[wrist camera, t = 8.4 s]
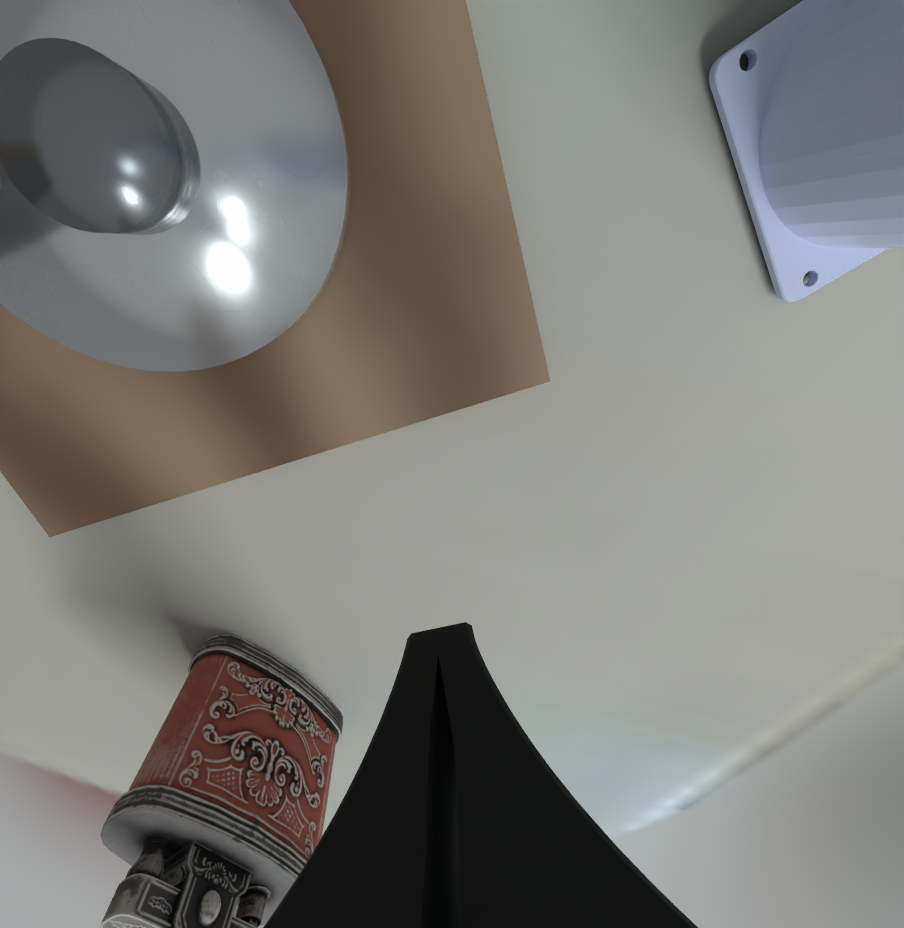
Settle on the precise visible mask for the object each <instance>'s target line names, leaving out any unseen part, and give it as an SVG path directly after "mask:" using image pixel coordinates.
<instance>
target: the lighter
mask: <svg viewBox="0 0 904 928" xmlns="http://www.w3.org/2000/svg"><path fill="white" fill-rule="evenodd" d="M188 672H189V676H188V677H187V679H186V681H185V683H184V685H183V687H182V689H181V691H180V693H179V695H178V697H177V699H176V700H175V702H174V704H173V706H172V708H171V710H170V712H169V714H168V716H167V718H166V720H165V722H164V723H163V725H162V727H161V729H160V731H159V733H158V735H157V737H156V739H155V741H154V743H153V745H152V746H151V748H150V750H149V752H148V754H147V756H146V758H145V760H144V762H143V764H142V766H141V768H140V769H139V771H138V773H137V775H136V777H135V779H134V781H133V783H132V785H131V787H130V789H129V791H128V792H126V793H124V794H123V795H122V796H121V797H120V798H119V799H118V800H117V801H116V803H115V805H114V807H113V809H112V810H111V813H110V815H109V816H108V818H107V820H106V822H105V824H104V826H103V828H102V832H101V838H102V841H103V844H104V845H105V846H106V847H107V848H108V849H109V850H110V851H111V852H113V853H114V854H116V855H117V856H119V857H120V858H122V859H123V860H124V861H126V862H127V863H129V864H130V865H132V867H131V868H130V870H129V871H128V874H127V876H126V878H125V879H124V880H123V881H122V882H121V883H120V884H119V886H118V888H117V890H116V893H115V895H114V897H113V899H112V901H111V903H110V905H109V907H108V910H107V912H106V914H105V916H104V918H103V920H102V923H101V925H100V928H257V927H258V926H259V925H260V924H261V925H265V924H266V923H267V921H268V920H269V919H270V917H271V916H272V914H273V913H274V911H275V910H276V908H277V907H278V905H279V904H280V902H281V901H282V899H283V898H284V896H285V895H286V894H287V892H288V891H289V889H290V888H291V886H292V885H293V883H294V882H295V880H296V879H297V877H298V875H299V874H300V872H301V871H302V869H303V868H304V866H305V864H306V863H307V861H308V860H309V858H310V856H311V855H312V853H313V851H314V850H315V848H316V846H317V844H318V843H319V841H320V839H321V838H322V831H323V825H324V818H325V812H326V805H327V799H328V792H329V785H330V779H331V772H332V766H333V759H334V753H335V747H336V746H337V745H338V743H339V741H340V739H341V733H342V726H343V716H342V714H341V712H340V711H339V710H338V708H337V707H336V706H335V705H334V704H333V703H332V702H331V701H330V700H329V698H328V697H327V696H326V695H325V694H324V693H323V692H322V691H321V690H320V689H319V688H318V687H316V686H315V685H314V684H313V683H312V682H311V681H309V680H308V679H307V678H306V677H305V676H304V675H302V674H301V673H300V672H299V671H297V670H296V669H294V668H293V667H291V666H290V665H288V664H287V663H285V662H284V661H282V660H281V659H279V658H278V657H276V656H275V655H273V654H272V653H270V652H268V651H266V650H264V649H262V648H260V647H258V646H256V645H255V644H253V643H251V642H249V641H247V640H245V639H243V638H241V637H238V636H235V635H230V634H221V635H216V636H212V637H211V638H209V639H207V640H205V641H204V642H203V643H202V644H201V645H200V646H199V647H198V649H197V651H196V653H195V655H194V657H193V659H192V661H191V663H190V665H189V668H188ZM235 916H236V917H235Z"/></svg>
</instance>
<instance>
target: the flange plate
mask: <svg viewBox="0 0 904 928" xmlns="http://www.w3.org/2000/svg"><path fill="white" fill-rule="evenodd" d="M350 198H351V171H350V158H349V151H348V143H347V136H346V131H345V127H344V123H343V119H342V115H341V111H340V107H339V103H338V101H337V98H336V95H335V92H334V90H333V87H332V84H331V82H330V79H329V76H328V74H327V71H326V69H325V67H324V65H323V63H322V61H321V59H320V56H319V54H318V52H317V50H316V48H315V46H314V44H313V42H312V40H311V38H310V36H309V34H308V32H307V30H306V28H305V26H304V24H303V22H302V21H301V19H300V18H299V16H298V14H297V13H296V11H295V10H294V8H293V6H292V5H291V3H290V2H289V0H0V304H1V305H3V306H4V307H5V308H6V309H8V310H9V311H10V312H11V313H13V314H14V315H15V316H16V317H18V318H19V319H20V320H22V321H23V322H25V323H27V324H28V325H30V326H31V327H33V328H34V329H36V330H37V331H39V332H40V333H42V334H44V335H45V336H47V337H49V338H51V339H53V340H55V341H57V342H59V343H61V344H62V345H64V346H66V347H68V348H70V349H72V350H75V351H77V352H80V353H82V354H85V355H88V356H90V357H93V358H95V359H98V360H101V361H105V362H108V363H112V364H116V365H119V366H123V367H128V368H135V369H141V370H148V371H165V372H180V371H191V370H201V369H206V368H210V367H214V366H219V365H223V364H226V363H229V362H231V361H234V360H237V359H239V358H242V357H244V356H247V355H249V354H250V353H252V352H254V351H256V350H258V349H259V348H261V347H263V346H265V345H266V344H268V343H270V342H271V341H273V340H274V339H276V338H277V337H278V336H280V335H281V334H282V333H284V332H285V331H286V330H287V329H289V328H290V327H291V326H293V325H294V324H295V323H296V322H297V321H298V320H299V319H300V318H301V317H302V316H303V315H304V314H305V313H306V312H307V311H308V310H309V308H310V307H311V306H312V304H313V303H314V302H315V300H316V299H317V297H318V296H319V295H320V293H321V292H322V291H323V289H324V287H325V285H326V283H327V281H328V280H329V278H330V276H331V274H332V272H333V270H334V268H335V265H336V262H337V260H338V257H339V254H340V251H341V249H342V246H343V242H344V237H345V233H346V228H347V224H348V219H349V208H350Z"/></svg>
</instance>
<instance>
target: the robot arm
mask: <svg viewBox="0 0 904 928" xmlns="http://www.w3.org/2000/svg"><path fill="white" fill-rule="evenodd" d="M741 54H745V55H746V56H747V57H748V59H749V65H748V68H747V70H746V71H744V70H742V69H741V67H740V64H739V60H740V57H741ZM709 84H710V88H711V91H712V94H713V97H714V100H715V103H716V107H717V110H718V113H719V116H720V119H721V122H722V125H723V129H724V132H725V135H726V138H727V141H728V144H729V148H730V151H731V154H732V157H733V160H734V163H735V167H736V170H737V173H738V176H739V179H740V182H741V185H742V189H743V192H744V195H745V198H746V201H747V204H748V208H749V211H750V214H751V217H752V220H753V223H754V227H755V230H756V233H757V236H758V239H759V242H760V245H761V249H762V252H763V255H764V258H765V261H766V264H767V268H768V271H769V274H770V277H771V280H772V283H773V287H774V290H775V293H776V295H777V297H778V298H779V299H780V300H782V301H787V302H795V301H797V300H800V299H801V298H803V297H805V296H807V295H808V294H810V293H812V292H813V291H815V290H817V289H819V288H820V287H822V286H824V285H825V284H827V283H829V282H831V281H832V280H834V279H836V278H837V277H839V276H841V275H843V274H844V273H846V272H848V271H849V270H851V269H853V268H855V267H856V266H858V265H860V264H861V263H863V262H865V261H866V260H868V259H870V258H872V257H873V256H875V255H877V254H878V253H880V252H882V251H884V250H885V249H887V248H904V0H803V1H801V2H800V3H798V4H797V5H795V6H794V7H792V8H791V9H789V10H788V11H786V12H785V13H783V14H782V15H780V16H779V17H777V18H776V19H775V20H773V21H772V22H770V23H769V24H767V25H766V26H764V27H763V28H761V29H760V30H758V31H757V32H755V33H754V34H752V35H751V36H749V37H748V38H746V39H745V40H744V41H742V42H741V43H739V44H738V45H736V46H735V47H733V48H732V49H730V50H729V51H727V52H726V53H724V54H723V55H721V56H720V57H719V58H718V59H717V60H716V61H715V62H714V63H713V65H712V67H711V69H710V74H709ZM807 272H809V280H808V282H807V283H806V284H805V285H804V284H803V278H804V276H805V274H806V273H807ZM263 928H698V927H697V926H696V925H694V923H692V922H691V921H690V920H689V919H688V918H687V917H686V916H685V915H684V914H683V913H682V912H681V911H680V910H679V909H678V908H677V907H676V906H675V905H674V904H673V903H671V901H670V900H669V899H668V898H667V897H666V896H664V894H662V893H661V892H660V891H659V890H658V889H657V888H656V887H655V886H654V885H653V884H652V883H651V882H650V881H649V880H648V879H647V878H646V877H645V876H644V874H643V873H642V872H641V871H640V870H639V869H638V868H637V867H636V866H635V865H634V864H633V863H632V862H631V861H630V860H629V859H628V858H627V857H626V856H625V855H624V854H623V853H622V851H621V850H620V849H619V848H618V847H617V846H616V845H615V844H614V843H613V842H612V841H611V839H610V838H609V837H608V836H607V835H606V834H605V833H604V831H603V830H602V829H601V828H600V827H599V826H598V825H597V824H596V822H595V821H594V820H593V819H592V818H591V817H590V816H589V814H588V813H587V812H586V811H585V810H584V809H583V808H582V807H581V805H580V804H579V803H578V802H577V801H576V800H575V798H574V797H573V796H572V795H571V793H570V792H569V791H568V790H567V788H566V787H565V786H564V785H563V783H562V782H561V781H560V780H559V778H558V777H557V776H556V775H555V773H554V772H553V771H552V769H551V768H550V767H549V765H548V764H547V763H546V761H545V760H544V759H543V757H542V756H541V755H540V753H539V752H538V751H537V749H536V748H535V746H534V745H533V744H532V742H531V741H530V739H529V738H528V736H527V735H526V733H525V732H524V730H523V729H522V727H521V726H520V724H519V723H518V721H517V720H516V718H515V717H514V715H513V713H512V712H511V710H510V709H509V707H508V705H507V704H506V702H505V700H504V699H503V697H502V695H501V693H500V691H499V690H498V688H497V686H496V684H495V683H494V681H493V679H492V677H491V675H490V673H489V671H488V669H487V667H486V665H485V663H484V661H483V659H482V656H481V654H480V652H479V649H478V647H477V644H476V641H475V638H474V634H473V629H472V625H470V624H468V623H466V622H465V623H460V624H455V625H450V626H446V627H441V628H436V629H431V630H426V631H422V632H417V633H412V634H411V635H410V636H409V637H408V639H407V643H406V647H405V651H404V654H403V658H402V661H401V665H400V668H399V671H398V674H397V677H396V680H395V683H394V686H393V688H392V691H391V694H390V696H389V699H388V702H387V704H386V707H385V709H384V712H383V715H382V717H381V720H380V722H379V725H378V727H377V729H376V732H375V734H374V736H373V738H372V741H371V743H370V745H369V747H368V749H367V752H366V754H365V756H364V758H363V761H362V763H361V765H360V767H359V769H358V771H357V773H356V775H355V777H354V779H353V781H352V783H351V785H350V787H349V789H348V791H347V793H346V795H345V797H344V799H343V800H342V802H341V804H340V806H339V808H338V810H337V812H336V813H335V815H334V817H333V819H332V821H331V822H330V824H329V826H328V827H327V829H326V831H325V833H324V834H323V836H322V838H321V839H320V841H319V843H318V844H317V846H316V848H315V850H314V851H313V853H312V855H311V856H310V858H309V860H308V861H307V863H306V864H305V866H304V868H303V869H302V871H301V872H300V874H299V875H298V877H297V879H296V880H295V882H294V883H293V885H292V886H291V888H290V889H289V891H288V892H287V894H286V895H285V896H284V898H283V899H282V901H281V902H280V904H279V905H278V907H277V908H276V910H275V911H274V913H273V914H272V916H271V917H270V919H269V920H268V921H267V923H266V924H265V926H264V927H263Z"/></svg>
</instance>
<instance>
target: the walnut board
mask: <svg viewBox="0 0 904 928" xmlns="http://www.w3.org/2000/svg"><path fill="white" fill-rule="evenodd" d="M289 2H290V3H291V5H292V6H293V8H294V10H295V11H296V13H297V14H298V16H299V18H300V19H301V21H302V22H303V24H304V26H305V28H306V30H307V32H308V34H309V36H310V38H311V40H312V42H313V44H314V46H315V48H316V50H317V52H318V54H319V56H320V59H321V61H322V63H323V65H324V67H325V69H326V71H327V74H328V76H329V79H330V82H331V84H332V87H333V90H334V92H335V95H336V98H337V101H338V103H339V107H340V111H341V115H342V119H343V123H344V127H345V131H346V136H347V143H348V151H349V158H350V171H351V198H350V208H349V219H348V224H347V228H346V233H345V237H344V242H343V246H342V249H341V251H340V254H339V257H338V260H337V262H336V265H335V268H334V270H333V272H332V274H331V276H330V278H329V280H328V281H327V283H326V285H325V287H324V289H323V291H322V292H321V293H320V295H319V296H318V297H317V299H316V300H315V302H314V303H313V304H312V306H311V307H310V308H309V310H308V311H307V312H306V313H305V314H304V315H303V316H302V317H301V318H300V319H299V320H298V321H297V322H296V323H295V324H294V325H293V326H291V327H290V328H289V329H287V330H286V331H285V332H284V333H282V334H281V335H280V336H278V337H277V338H276V339H274V340H273V341H271V342H270V343H268V344H266V345H265V346H263V347H261V348H259V349H258V350H256V351H254V352H252V353H250V354H249V355H247V356H244V357H242V358H239V359H237V360H234V361H231V362H229V363H226V364H223V365H219V366H214V367H210V368H206V369H201V370H191V371H180V372H165V371H148V370H141V369H135V368H128V367H123V366H119V365H116V364H112V363H108V362H105V361H101V360H98V359H95V358H93V357H90V356H88V355H85V354H82V353H80V352H77V351H75V350H72V349H70V348H68V347H66V346H64V345H62V344H61V343H59V342H57V341H55V340H53V339H51V338H49V337H47V336H45V335H44V334H42V333H40V332H39V331H37V330H36V329H34V328H33V327H31V326H30V325H28V324H27V323H25V322H23V321H22V320H20V319H19V318H18V317H16V316H15V315H14V314H13V313H11V312H10V311H9V310H8V309H6V308H5V307H4V306H3V305H1V304H0V471H1V473H2V474H3V475H4V477H5V478H6V479H7V481H8V482H9V483H10V485H11V486H12V487H13V489H14V490H15V491H16V493H17V494H18V495H19V497H20V498H21V499H22V501H23V502H24V503H25V505H26V506H27V507H28V509H29V510H30V511H31V513H32V514H33V515H34V517H35V518H36V519H37V521H38V522H39V523H40V525H41V526H42V527H43V529H44V530H45V531H46V533H47V534H48V535H49V537H51V536H54V535H58V534H61V533H64V532H67V531H70V530H74V529H77V528H80V527H83V526H86V525H90V524H93V523H96V522H99V521H102V520H106V519H109V518H112V517H115V516H119V515H122V514H125V513H128V512H131V511H135V510H138V509H141V508H144V507H147V506H151V505H154V504H157V503H160V502H164V501H167V500H170V499H173V498H176V497H180V496H183V495H186V494H189V493H192V492H196V491H199V490H202V489H205V488H209V487H212V486H215V485H218V484H221V483H225V482H228V481H231V480H234V479H237V478H241V477H244V476H247V475H250V474H253V473H257V472H260V471H263V470H266V469H270V468H273V467H276V466H279V465H282V464H286V463H289V462H292V461H295V460H298V459H302V458H305V457H308V456H311V455H315V454H318V453H321V452H324V451H327V450H331V449H334V448H337V447H340V446H343V445H347V444H350V443H353V442H356V441H360V440H363V439H366V438H369V437H372V436H376V435H379V434H382V433H385V432H388V431H392V430H395V429H398V428H401V427H404V426H408V425H411V424H414V423H417V422H421V421H424V420H427V419H430V418H433V417H437V416H440V415H443V414H446V413H449V412H453V411H456V410H459V409H462V408H466V407H469V406H472V405H475V404H478V403H482V402H485V401H488V400H491V399H494V398H498V397H501V396H504V395H507V394H511V393H514V392H517V391H520V390H523V389H527V388H530V387H533V386H536V385H539V384H543V383H546V382H549V381H550V378H549V374H548V369H547V365H546V360H545V356H544V351H543V347H542V342H541V338H540V333H539V329H538V324H537V320H536V315H535V311H534V306H533V302H532V297H531V293H530V288H529V284H528V279H527V275H526V270H525V266H524V261H523V257H522V252H521V248H520V243H519V239H518V234H517V230H516V225H515V221H514V216H513V212H512V207H511V203H510V198H509V194H508V189H507V185H506V180H505V176H504V171H503V167H502V162H501V158H500V153H499V149H498V144H497V140H496V135H495V131H494V126H493V122H492V117H491V113H490V108H489V104H488V99H487V95H486V90H485V86H484V81H483V77H482V72H481V68H480V63H479V59H478V54H477V50H476V45H475V41H474V36H473V32H472V27H471V23H470V18H469V14H468V9H467V5H466V0H289Z"/></svg>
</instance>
